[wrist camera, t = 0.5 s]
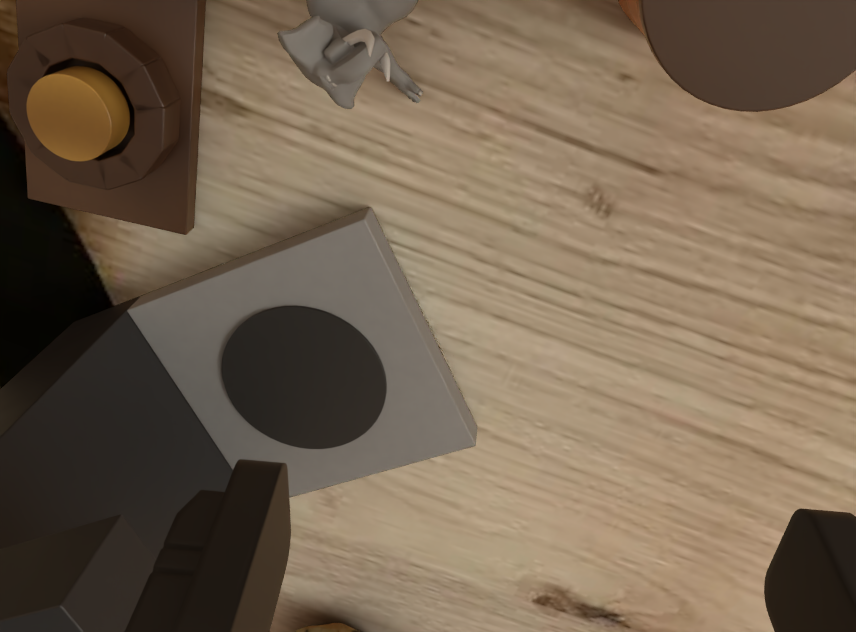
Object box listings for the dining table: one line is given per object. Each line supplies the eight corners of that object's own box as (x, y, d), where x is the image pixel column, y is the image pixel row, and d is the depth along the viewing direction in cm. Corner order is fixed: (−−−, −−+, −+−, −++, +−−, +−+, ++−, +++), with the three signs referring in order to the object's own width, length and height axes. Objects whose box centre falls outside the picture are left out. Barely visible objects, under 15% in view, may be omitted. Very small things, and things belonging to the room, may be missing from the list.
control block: (25, -57, 29) (-16, -54, 27) (207, -15, 29) (180, -9, 27) (38, 191, 34) (5, 212, 31) (194, 227, 34) (171, 250, 31)
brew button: (47, 57, 29) (23, 64, 27) (130, 76, 29) (111, 84, 27) (50, 139, 30) (28, 151, 29) (130, 158, 30) (111, 170, 29)
